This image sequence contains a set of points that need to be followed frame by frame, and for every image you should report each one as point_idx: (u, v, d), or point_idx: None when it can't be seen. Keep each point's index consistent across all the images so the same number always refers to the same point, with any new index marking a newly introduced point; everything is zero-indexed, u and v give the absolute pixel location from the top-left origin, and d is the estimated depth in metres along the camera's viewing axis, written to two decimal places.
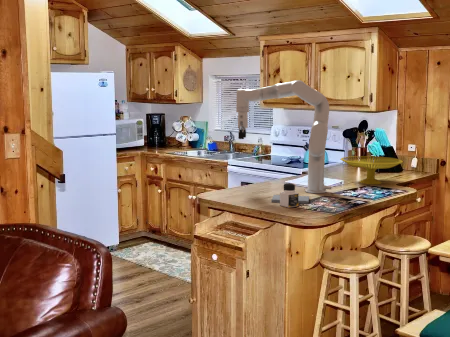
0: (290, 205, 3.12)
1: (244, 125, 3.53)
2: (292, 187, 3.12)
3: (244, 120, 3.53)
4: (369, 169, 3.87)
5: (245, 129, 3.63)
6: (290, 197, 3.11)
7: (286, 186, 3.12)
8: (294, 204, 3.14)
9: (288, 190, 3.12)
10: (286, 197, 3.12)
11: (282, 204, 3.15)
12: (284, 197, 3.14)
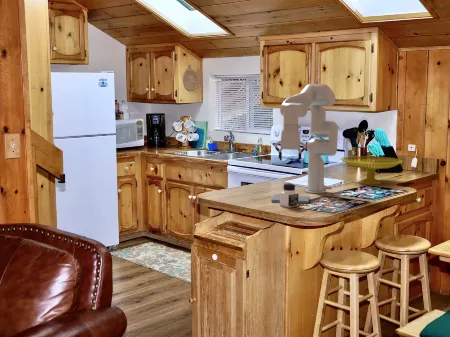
0: (290, 205, 3.12)
1: None
2: (292, 187, 3.12)
3: None
4: (369, 169, 3.87)
5: None
6: (290, 197, 3.11)
7: (286, 186, 3.12)
8: (294, 204, 3.14)
9: (288, 190, 3.12)
10: (286, 197, 3.12)
11: (282, 204, 3.15)
12: (284, 197, 3.14)
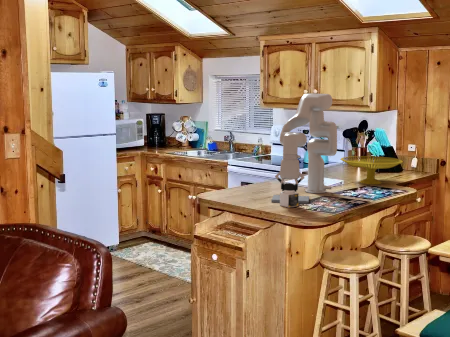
0: (290, 205, 3.12)
1: None
2: (292, 187, 3.12)
3: None
4: (369, 169, 3.87)
5: None
6: (290, 197, 3.11)
7: (286, 186, 3.12)
8: (294, 204, 3.14)
9: (288, 190, 3.12)
10: (286, 197, 3.12)
11: (282, 204, 3.15)
12: (284, 197, 3.14)
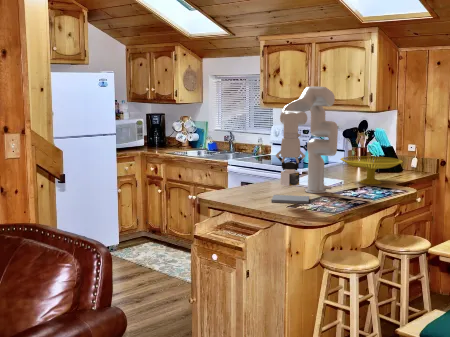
0: (291, 184, 3.11)
1: None
2: (293, 166, 3.11)
3: None
4: (369, 169, 3.87)
5: None
6: (291, 176, 3.10)
7: (287, 165, 3.11)
8: (295, 183, 3.12)
9: (289, 169, 3.11)
10: (287, 176, 3.11)
11: (283, 183, 3.14)
12: (285, 176, 3.12)
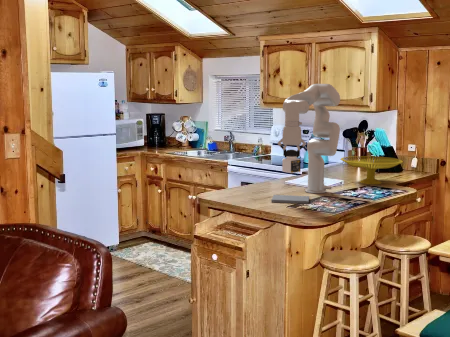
0: (292, 171, 3.20)
1: None
2: (294, 153, 3.20)
3: None
4: (369, 169, 3.87)
5: None
6: (292, 163, 3.19)
7: (288, 152, 3.20)
8: (296, 170, 3.21)
9: (290, 156, 3.20)
10: (288, 163, 3.20)
11: (285, 170, 3.23)
12: (286, 163, 3.21)
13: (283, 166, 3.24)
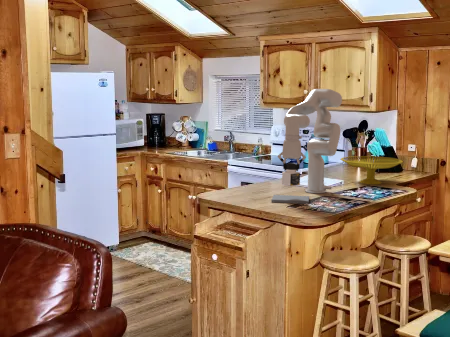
0: (292, 184, 3.24)
1: None
2: (294, 166, 3.24)
3: None
4: (369, 169, 3.87)
5: None
6: (292, 176, 3.23)
7: (288, 165, 3.25)
8: (295, 183, 3.26)
9: (290, 169, 3.24)
10: (288, 176, 3.24)
11: (284, 183, 3.27)
12: (286, 176, 3.26)
13: (283, 179, 3.28)
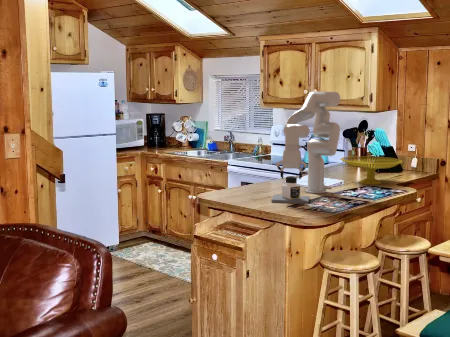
0: (292, 197, 3.26)
1: None
2: (294, 180, 3.26)
3: None
4: (369, 169, 3.87)
5: None
6: (292, 189, 3.25)
7: (288, 179, 3.26)
8: (295, 196, 3.27)
9: (290, 183, 3.26)
10: (288, 189, 3.26)
11: (284, 196, 3.29)
12: (286, 190, 3.27)
13: (283, 192, 3.29)
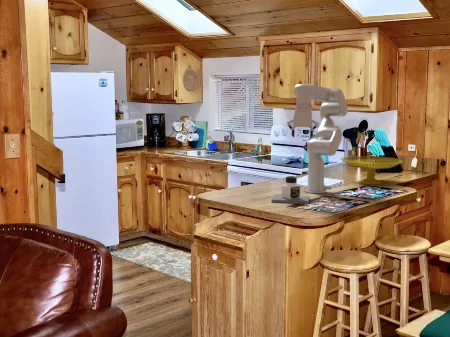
0: (292, 197, 3.26)
1: None
2: (294, 180, 3.26)
3: None
4: (369, 169, 3.87)
5: None
6: (292, 189, 3.25)
7: (288, 179, 3.26)
8: (295, 196, 3.27)
9: (290, 183, 3.26)
10: (288, 189, 3.26)
11: (284, 196, 3.29)
12: (286, 190, 3.27)
13: (283, 192, 3.29)
